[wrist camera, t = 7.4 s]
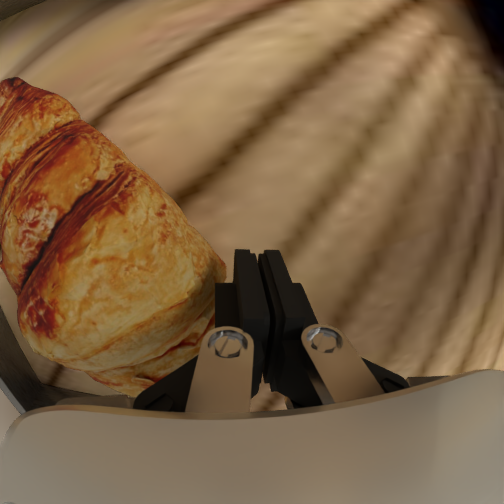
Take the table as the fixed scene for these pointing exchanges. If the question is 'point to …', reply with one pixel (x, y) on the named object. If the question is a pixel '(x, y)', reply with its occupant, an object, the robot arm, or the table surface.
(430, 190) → the table surface
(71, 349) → the croissant
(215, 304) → the robot arm
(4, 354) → the bent metal bracket
